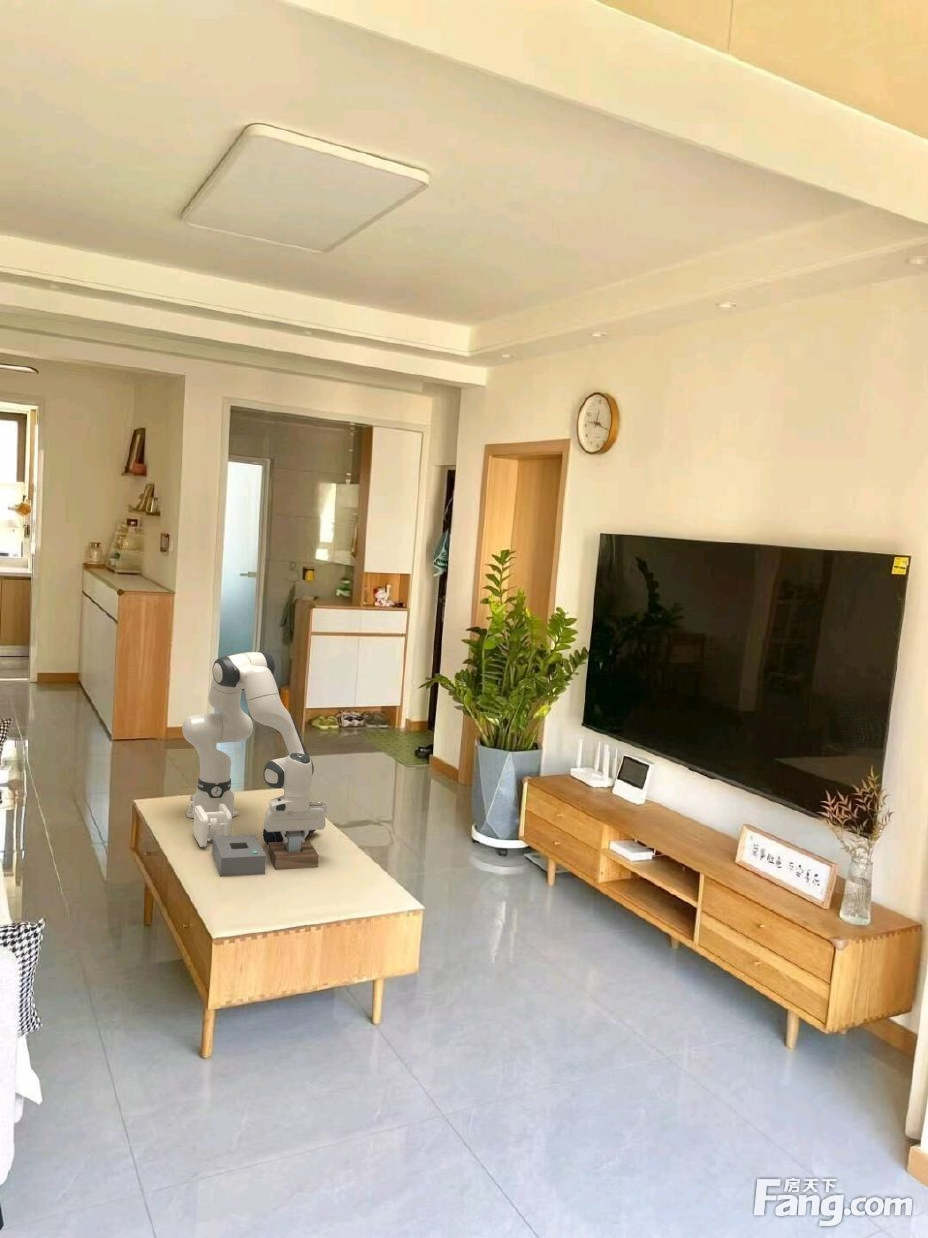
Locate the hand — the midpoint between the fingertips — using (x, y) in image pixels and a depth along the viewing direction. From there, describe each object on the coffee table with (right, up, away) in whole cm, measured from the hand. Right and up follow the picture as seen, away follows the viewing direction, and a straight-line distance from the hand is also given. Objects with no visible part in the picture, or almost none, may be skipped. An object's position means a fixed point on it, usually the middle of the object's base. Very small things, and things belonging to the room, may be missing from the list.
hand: (293, 842), depth 321 cm
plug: (-1, -6, +1) cm, 6 cm away
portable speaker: (-5, -4, +18) cm, 19 cm away
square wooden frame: (-1, -6, +1) cm, 6 cm away
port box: (-17, -5, -6) cm, 19 cm away
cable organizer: (-31, -2, +11) cm, 33 cm away
